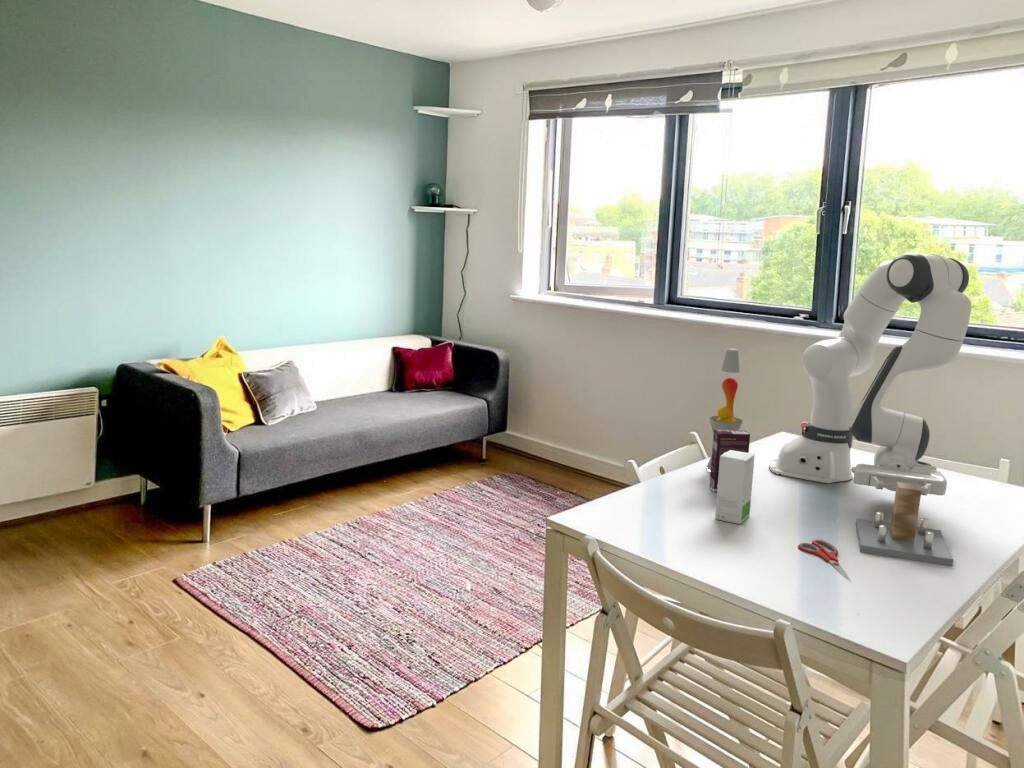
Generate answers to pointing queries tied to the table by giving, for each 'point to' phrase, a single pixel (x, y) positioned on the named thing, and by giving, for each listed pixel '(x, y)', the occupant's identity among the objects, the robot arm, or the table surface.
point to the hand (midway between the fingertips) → (901, 489)
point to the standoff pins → (921, 531)
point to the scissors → (824, 554)
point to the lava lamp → (727, 397)
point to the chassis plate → (902, 544)
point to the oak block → (905, 512)
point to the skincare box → (734, 486)
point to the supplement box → (726, 449)
